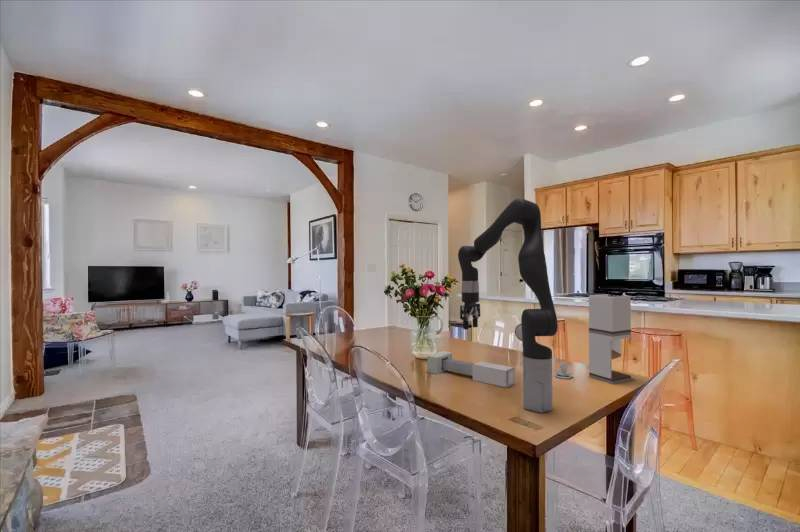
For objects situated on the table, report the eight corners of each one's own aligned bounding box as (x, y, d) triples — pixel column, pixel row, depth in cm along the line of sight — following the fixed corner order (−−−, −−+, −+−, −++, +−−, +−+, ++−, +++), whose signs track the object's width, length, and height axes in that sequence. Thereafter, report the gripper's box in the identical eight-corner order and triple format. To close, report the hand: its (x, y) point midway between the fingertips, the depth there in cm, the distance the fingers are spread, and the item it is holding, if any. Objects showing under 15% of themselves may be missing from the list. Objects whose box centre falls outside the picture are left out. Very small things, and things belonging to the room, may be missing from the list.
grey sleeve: (507, 387, 143) (507, 371, 143) (472, 379, 153) (472, 364, 153) (514, 383, 148) (514, 367, 148) (479, 376, 158) (479, 361, 158)
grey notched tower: (612, 384, 146) (612, 297, 146) (589, 377, 156) (588, 295, 156) (630, 380, 151) (630, 296, 151) (606, 373, 161) (606, 294, 161)
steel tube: (486, 378, 150) (486, 368, 150) (434, 367, 167) (434, 358, 167) (490, 376, 153) (490, 366, 153) (439, 365, 170) (439, 356, 170)
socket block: (437, 374, 161) (437, 357, 161) (427, 371, 165) (427, 355, 165) (452, 368, 170) (452, 352, 170) (442, 366, 174) (442, 351, 174)
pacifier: (571, 381, 152) (573, 376, 157) (571, 366, 152) (573, 362, 157) (552, 378, 156) (555, 374, 161) (552, 363, 156) (555, 360, 161)
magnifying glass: (533, 365, 174) (533, 323, 174) (533, 366, 172) (532, 324, 172) (515, 363, 178) (515, 322, 178) (514, 364, 177) (514, 322, 177)
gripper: (470, 292, 152) (470, 331, 152) (485, 290, 163) (485, 327, 163) (454, 291, 157) (454, 329, 156) (470, 290, 168) (470, 325, 168)
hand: (470, 328), depth 160 cm, fingers open, 8 cm apart
